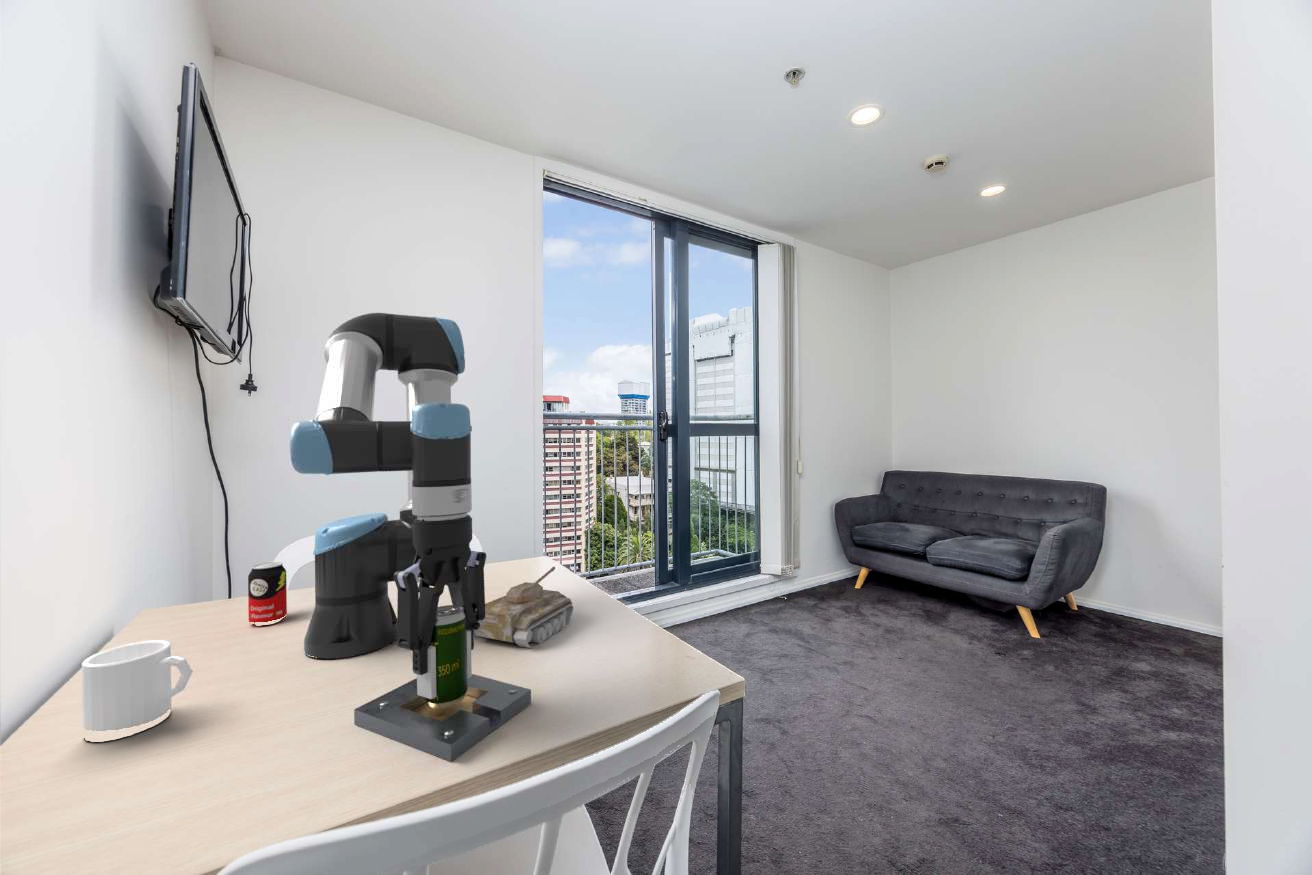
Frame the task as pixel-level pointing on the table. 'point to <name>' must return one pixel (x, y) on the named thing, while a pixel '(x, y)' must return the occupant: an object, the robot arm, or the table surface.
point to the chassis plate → (443, 716)
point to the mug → (130, 685)
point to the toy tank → (526, 614)
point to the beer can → (449, 656)
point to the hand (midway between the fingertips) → (445, 685)
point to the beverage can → (267, 592)
